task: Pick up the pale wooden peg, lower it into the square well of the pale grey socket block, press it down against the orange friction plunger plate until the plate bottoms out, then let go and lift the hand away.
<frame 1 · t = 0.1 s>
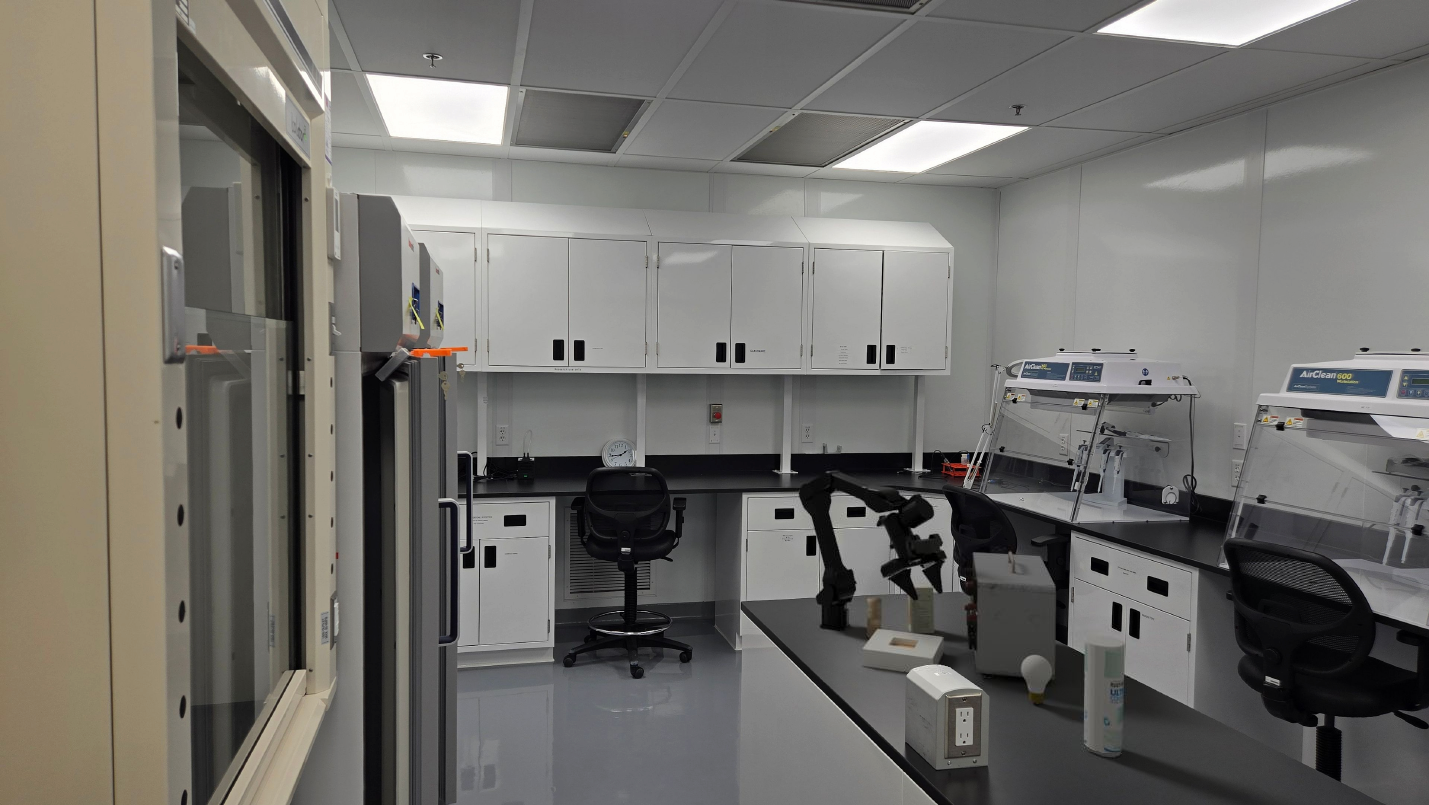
hand: (928, 596, 194), 15 cm above the lab bench, tool tilted 30°, fingers open, 9 cm apart
socket block: (903, 659, 194), on the lab bench
spray can: (1102, 750, 148), on the lab bench
skincare box: (920, 631, 215), on the lab bench
light bulb: (1036, 704, 168), on the lab bench
vintage electronic device: (1005, 659, 194), on the lab bench
wooden peg: (874, 637, 210), on the lab bench
plunger plate: (903, 650, 194), point 2 cm above the lab bench, slide at 0.0 cm
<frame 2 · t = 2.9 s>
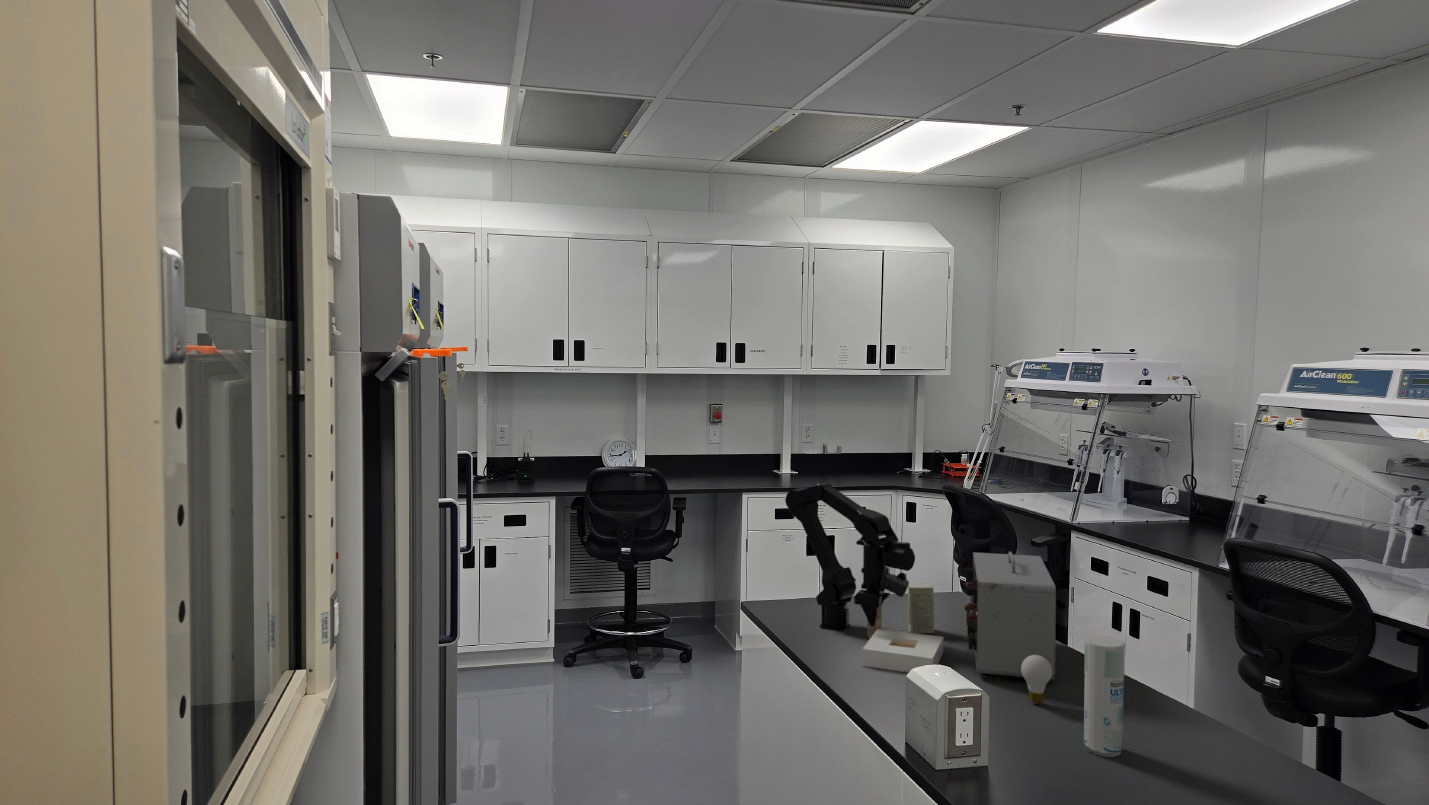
hand: (874, 623, 210), 4 cm above the lab bench, tool pointing down, fingers closed on wooden peg, 4 cm apart
wooden peg: (874, 637, 210), on the lab bench, touching gripper
everything else where it was.
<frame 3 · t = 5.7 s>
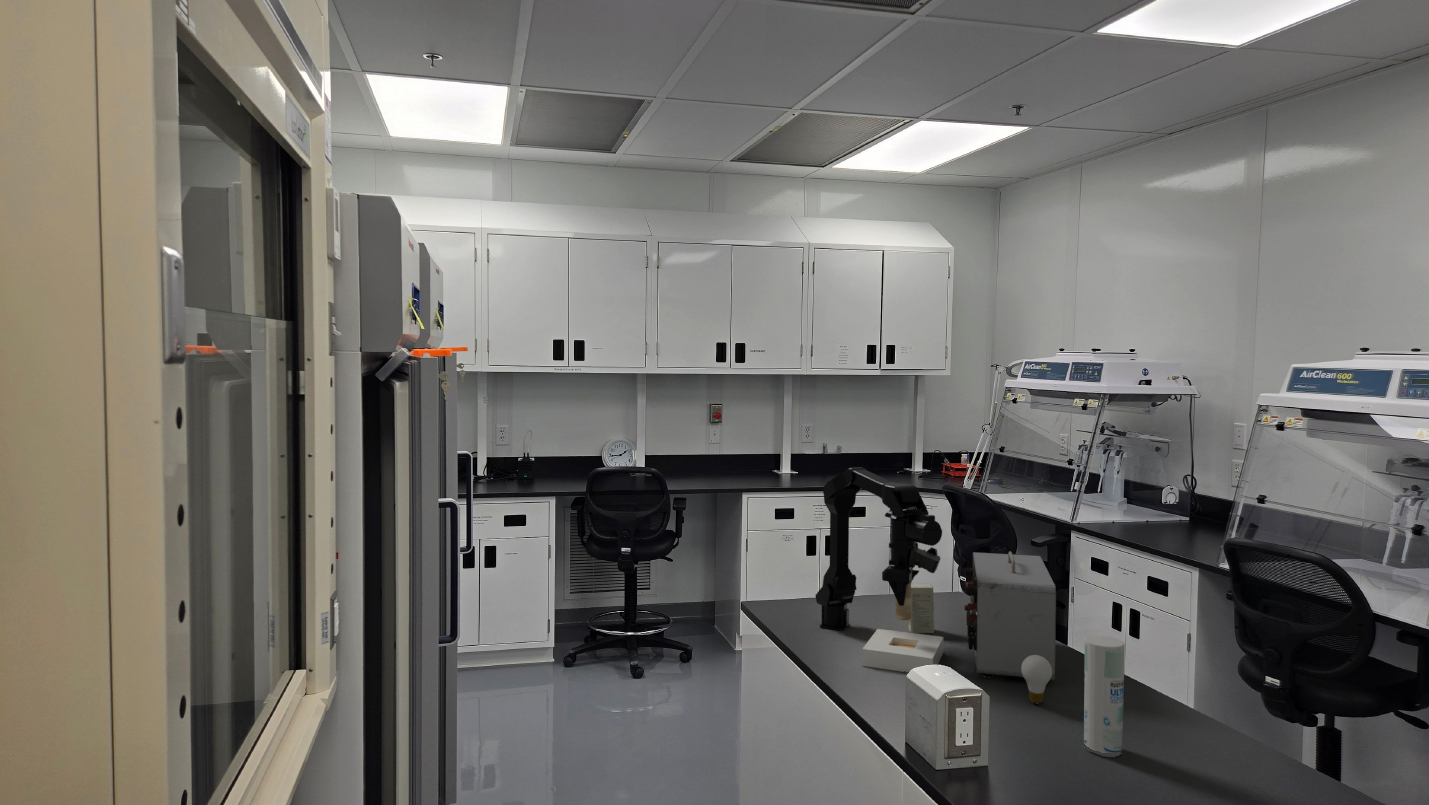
hand: (903, 603, 194), 13 cm above the lab bench, tool pointing down, fingers closed on wooden peg, 4 cm apart
wooden peg: (903, 618, 194), point 10 cm above the lab bench, touching gripper
everything else where it was.
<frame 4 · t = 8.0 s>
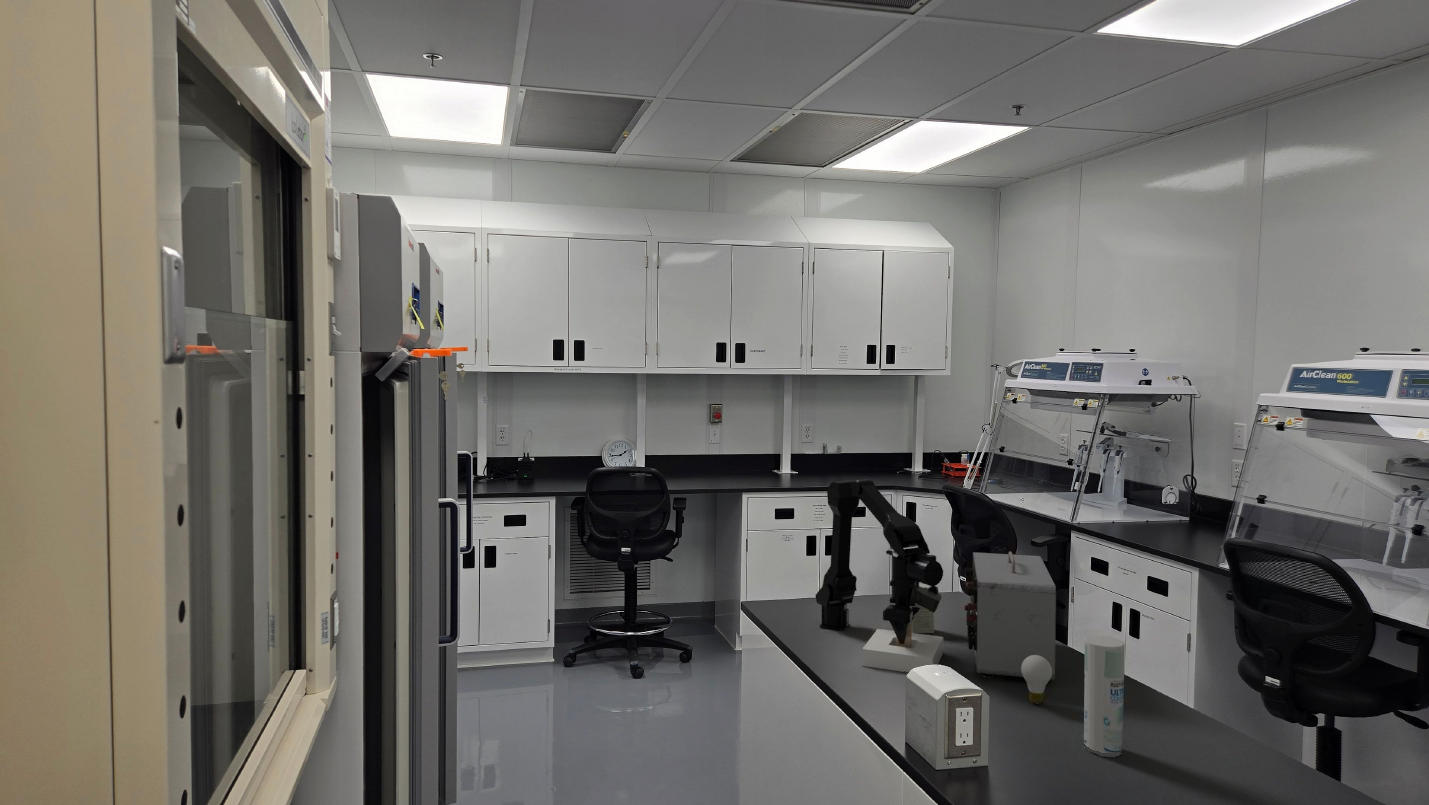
hand: (903, 641, 194), 4 cm above the lab bench, tool pointing down, fingers closed on wooden peg, 4 cm apart
wooden peg: (903, 655, 194), point 1 cm above the lab bench, touching gripper, plunger plate
plunger plate: (903, 657, 194), resting in socket block, slide at -1.6 cm, touching wooden peg
everything else where it was.
when the fingers open (4 cm above the lab bench, at t = 8.9 s): wooden peg stays where it is, resting on plunger plate.
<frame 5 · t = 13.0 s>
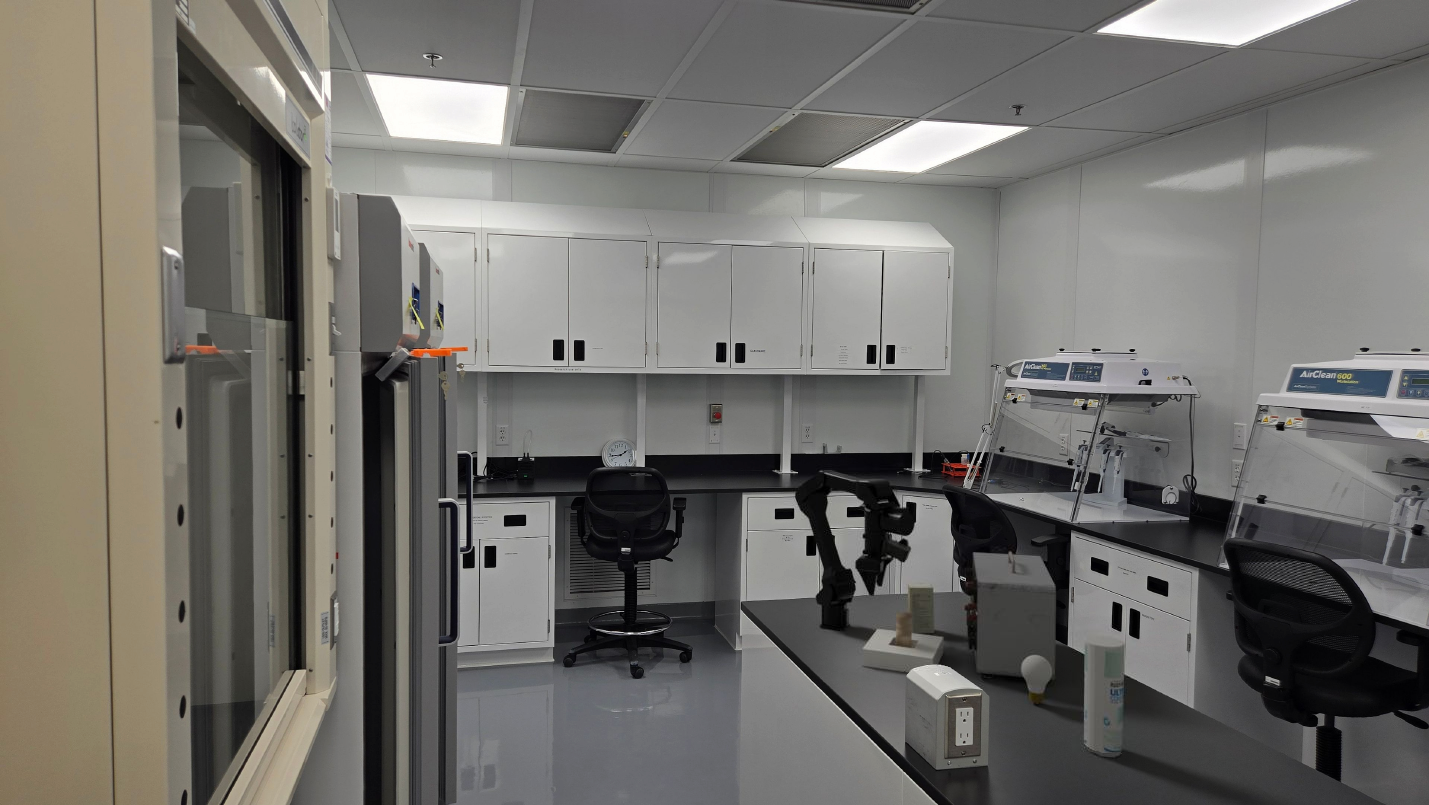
hand: (875, 590, 206), 13 cm above the lab bench, tool pointing down, fingers open, 9 cm apart
wooden peg: (903, 655, 194), point 1 cm above the lab bench, touching plunger plate
everything else where it was.
at the end: wooden peg 0.1 cm off-centre on the socket block, point 0.9 cm above the socket block's base; plunger plate slide at -1.6 cm; wooden peg tilted 0° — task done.
